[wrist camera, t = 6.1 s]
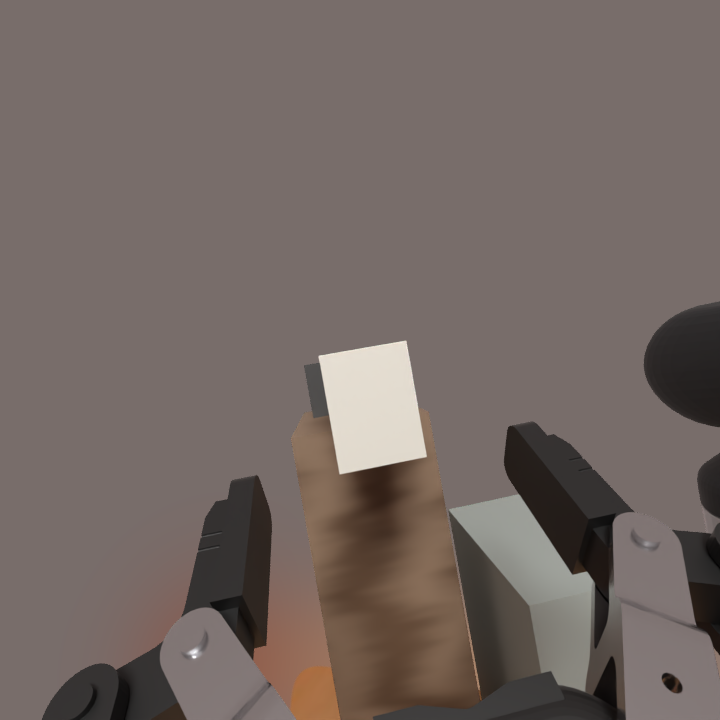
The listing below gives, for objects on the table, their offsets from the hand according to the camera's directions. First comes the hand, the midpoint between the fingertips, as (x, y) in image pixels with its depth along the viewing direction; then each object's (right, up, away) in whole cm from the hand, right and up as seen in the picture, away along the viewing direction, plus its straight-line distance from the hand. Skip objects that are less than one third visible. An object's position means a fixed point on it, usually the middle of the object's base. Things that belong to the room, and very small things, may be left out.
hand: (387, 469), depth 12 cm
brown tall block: (+4, -30, +16) cm, 34 cm away
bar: (-1, 0, +11) cm, 11 cm away
